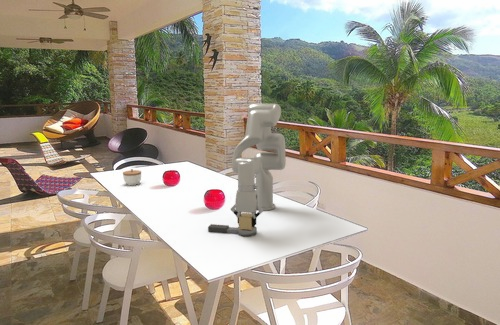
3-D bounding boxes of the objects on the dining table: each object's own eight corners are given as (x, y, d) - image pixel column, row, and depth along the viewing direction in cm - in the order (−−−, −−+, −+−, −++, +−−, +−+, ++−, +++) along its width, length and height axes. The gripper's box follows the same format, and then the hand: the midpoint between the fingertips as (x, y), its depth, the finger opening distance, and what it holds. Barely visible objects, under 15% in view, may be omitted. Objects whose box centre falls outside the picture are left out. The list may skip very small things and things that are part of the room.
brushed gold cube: (242, 224, 190) (242, 212, 189) (254, 225, 188) (254, 213, 187) (239, 229, 184) (238, 216, 183) (251, 230, 182) (251, 217, 181)
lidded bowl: (120, 185, 286) (118, 169, 284) (134, 181, 296) (133, 167, 294) (131, 187, 279) (130, 171, 277) (145, 183, 289) (144, 168, 287)
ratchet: (212, 227, 195) (212, 214, 194) (258, 230, 190) (258, 217, 188) (206, 233, 187) (205, 220, 186) (254, 237, 181) (253, 223, 180)
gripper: (266, 186, 184) (266, 224, 187) (230, 185, 188) (231, 221, 192) (262, 190, 177) (263, 229, 180) (225, 189, 181) (226, 226, 185)
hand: (246, 225), depth 186 cm, fingers closed on brushed gold cube, 5 cm apart
